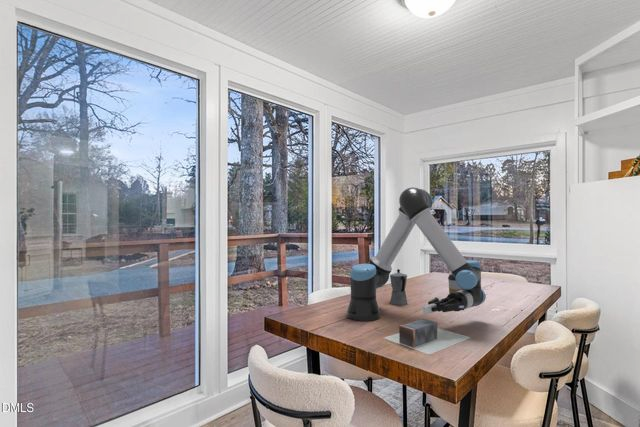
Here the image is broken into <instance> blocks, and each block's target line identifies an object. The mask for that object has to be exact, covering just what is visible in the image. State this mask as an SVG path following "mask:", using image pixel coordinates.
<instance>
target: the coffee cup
mask: <svg viewBox="0 0 640 427" xmlns="http://www.w3.org/2000/svg"><path fill="white" fill-rule="evenodd" d="M447 277H448V278H447V279H448V295H449V294H450V293H453V292H457V291H460V290H462V288H460V287H459V286H458V285H457V283H456V280H455V277H454V276H453V274H452V273H450V274H448V276H447Z"/></svg>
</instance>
